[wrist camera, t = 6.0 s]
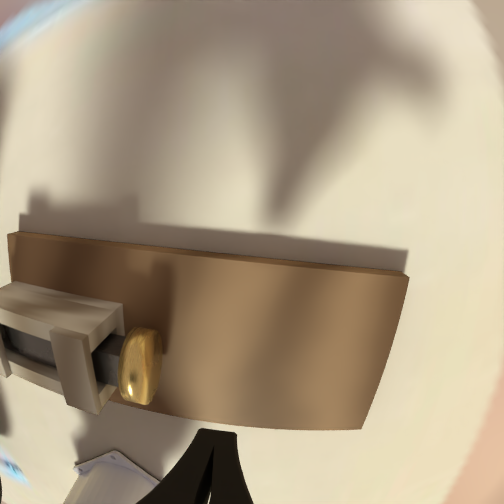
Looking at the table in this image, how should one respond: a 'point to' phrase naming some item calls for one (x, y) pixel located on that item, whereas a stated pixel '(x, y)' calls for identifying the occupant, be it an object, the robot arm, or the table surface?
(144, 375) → the shaft
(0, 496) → the headset
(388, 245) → the table surface
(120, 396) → the board
